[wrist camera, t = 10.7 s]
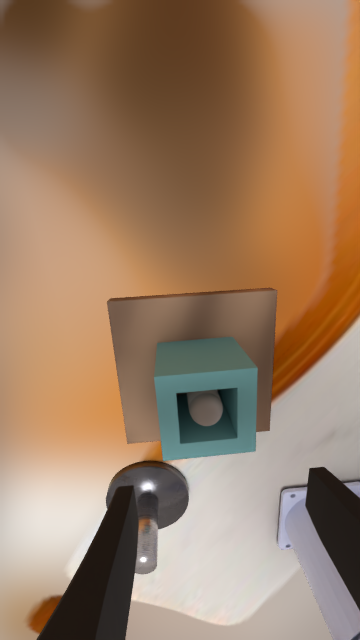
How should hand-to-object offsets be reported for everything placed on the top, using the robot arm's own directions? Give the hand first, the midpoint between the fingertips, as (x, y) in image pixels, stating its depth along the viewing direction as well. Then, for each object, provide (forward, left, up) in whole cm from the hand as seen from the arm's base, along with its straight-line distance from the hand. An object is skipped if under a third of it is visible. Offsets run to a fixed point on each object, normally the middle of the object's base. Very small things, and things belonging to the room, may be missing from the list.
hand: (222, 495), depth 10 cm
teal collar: (0, -1, -9) cm, 9 cm away
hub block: (0, -1, -10) cm, 10 cm away
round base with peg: (+5, +12, -10) cm, 17 cm away
